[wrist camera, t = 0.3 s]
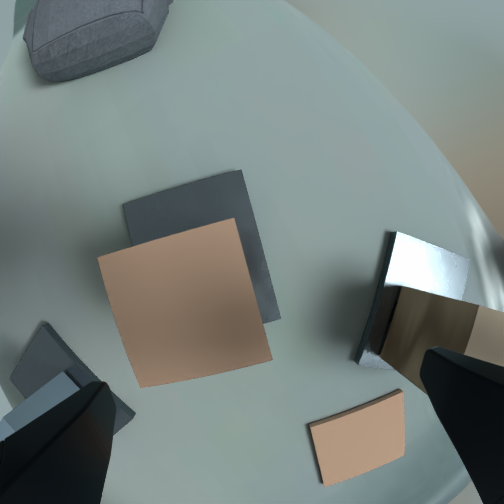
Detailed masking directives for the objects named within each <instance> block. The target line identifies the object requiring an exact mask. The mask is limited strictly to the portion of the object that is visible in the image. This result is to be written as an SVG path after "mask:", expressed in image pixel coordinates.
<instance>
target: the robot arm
mask: <svg viewBox="0 0 504 504" xmlns="http://www.w3.org/2000/svg"><path fill="white" fill-rule="evenodd" d="M419 375H420V379H421V381H422V383H423V386H424V388H425V390H426V392H427V394H428V396H429V399H430V401H431V403H432V405H433V408H434V410H435V412H436V414H437V416H438V418H439V420H440V422H441V423H442V425H443V427H444V429H445V430H446V432H447V434H448V436H449V438H450V439H451V441H452V443H453V445H454V447H455V449H456V450H457V452H458V454H459V456H460V458H461V460H462V462H463V464H464V465H465V467H466V469H467V471H468V473H469V475H470V477H471V479H472V481H473V483H474V485H475V487H476V489H477V491H478V493H479V496H480V498H481V500H482V502H483V504H504V367H503V366H499V365H496V364H493V363H490V362H486V361H483V360H480V359H477V358H474V357H470V356H467V355H464V354H461V353H458V352H455V351H452V350H449V349H446V348H442V347H439V346H436V347H432V348H429V349H427V350H426V351H425V353H424V357H423V361H422V364H421V368H420V372H419ZM115 418H116V404H115V401H114V398H113V396H112V393H111V391H110V388H109V386H108V384H107V383H106V382H104V381H92V382H90V383H88V384H87V385H85V386H84V387H83V388H81V389H80V390H78V391H77V392H75V393H74V394H72V395H71V396H69V397H68V398H66V399H65V400H63V401H62V402H60V403H59V404H57V405H55V406H54V407H52V408H51V409H49V410H48V411H46V412H45V413H43V414H42V415H40V416H39V417H37V418H36V419H34V420H33V421H31V422H30V423H28V424H27V425H25V426H23V427H22V428H20V429H19V430H17V431H16V432H14V433H13V434H11V435H10V436H8V437H6V438H5V439H4V440H2V441H0V504H100V502H101V497H102V492H103V487H104V483H105V478H106V474H107V469H108V465H109V461H110V456H111V449H112V440H113V432H114V425H115Z"/></svg>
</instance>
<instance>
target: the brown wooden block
mask: <svg viewBox="0 0 504 504" xmlns="http://www.w3.org/2000/svg"><path fill="white" fill-rule="evenodd" d="M436 346H439V347H442V348H446V349H449V350H452V351H455V352H458V353H461V354H464V355H467V356H470V357H474V358H477V359H480V360H483V361H486V362H490V363H493V364H496V365H499V366H503V367H504V312H500V311H497V310H493V309H490V308H487V307H483V306H480V305H476V304H472V303H468V302H464V301H461V300H457V299H453V298H449V297H445V296H441V295H437V294H433V293H430V292H426V291H422V290H418V289H414V288H410V287H406V286H402V288H401V292H400V295H399V299H398V302H397V306H396V309H395V313H394V316H393V319H392V322H391V325H390V329H389V332H388V335H387V338H386V341H385V343H384V346H383V349H382V352H381V355H380V358H381V359H383V360H384V361H385V362H386V363H388V364H389V365H390V366H391V367H393V368H394V369H395V370H396V371H398V372H399V373H400V374H402V375H403V376H404V377H405V378H407V379H408V380H409V381H410V382H412V383H413V384H414V385H415V386H417V387H418V388H419V389H421V390H422V391H423V392H424V393H426V394H427V392H426V390H425V388H424V386H423V383H422V381H421V379H420V375H419V372H420V368H421V364H422V361H423V357H424V353H425V351H426V350H427V349H429V348H432V347H436ZM427 395H428V394H427Z"/></svg>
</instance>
